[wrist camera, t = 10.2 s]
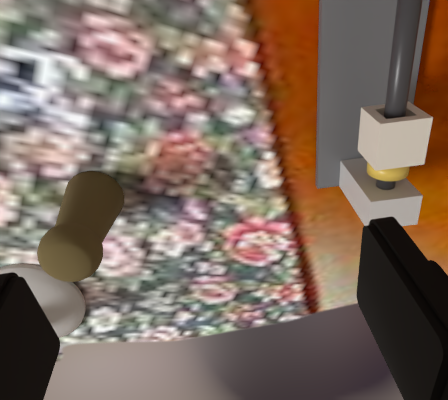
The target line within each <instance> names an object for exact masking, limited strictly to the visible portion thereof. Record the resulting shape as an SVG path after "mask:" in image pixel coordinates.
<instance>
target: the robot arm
mask: <svg viewBox="0 0 448 400" xmlns="http://www.w3.org/2000/svg"><path fill="white" fill-rule="evenodd" d="M357 300H358V304H359V307H360V309H361V311H362V313H363V315H364V317H365V319H366V321H367V323H368V326H369V327H370V330H371V332H372V334H373V336H374V338H375V340H376V342H377V344H378V346H379V349H380V351H381V353H382V355H383V357H384V359H385V361H386V363H387V365H388V367H389V369H390V372H391V374H392V376H393V378H394V380H395V382H396V384H397V386H398V388H399V390H400V392H401V394H402V397H403V399H404V400H448V276H447V274H446V273H445V272H444V271H443V269H442V268H441V267H440V266H439V265H438V264H437V263H436V262H434V261H432V260H430V261H428V260H427V259H426V257H425V256H424V255H423V253H422V252H421V251H420V250H419V248H418V247H417V246H416V244H415V243H414V242H413V240H412V239H411V238H410V237H409V235H408V234H407V233H406V231H405V230H404V229H403V228H402V226H401V225H400V224H399V222H398V221H397V220H396V219H395V218H394V217H392V216H391V217H384V218H377V219H372V220H370V222H369V225H367V226H364V227H363V233H362V243H361V254H360V265H359V275H358V286H357ZM59 349H60V341H59V338H58V336H57V334H56V332H55V330H54V329H53V327H52V325H51V323H50V322H49V320H48V318H47V317H46V315H45V313H44V311H43V310H42V308H41V306H40V304H39V303H38V301H37V299H36V297H35V296H34V294H33V292H32V291H31V289H30V287H29V285H28V284H27V282H26V280H25V279H24V278H23V277H19V276H18V275H17V274H16V273H14V272H11V273H4V274H0V400H43V399H44V396H45V393H46V389H47V386H48V383H49V380H50V377H51V374H52V371H53V368H54V365H55V362H56V359H57V356H58V353H59Z"/></svg>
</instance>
